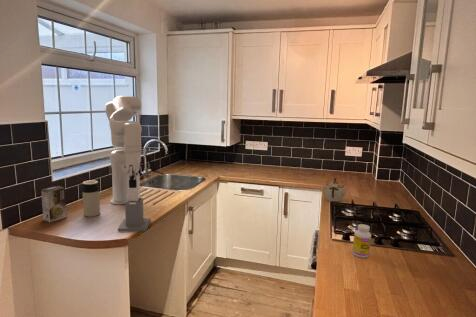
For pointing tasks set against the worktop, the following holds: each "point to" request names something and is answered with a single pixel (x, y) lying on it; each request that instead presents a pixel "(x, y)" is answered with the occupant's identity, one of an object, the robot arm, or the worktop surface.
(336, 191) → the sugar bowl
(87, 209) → the travel mug
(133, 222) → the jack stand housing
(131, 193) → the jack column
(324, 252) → the worktop surface
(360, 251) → the supplement bottle
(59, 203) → the coffee box
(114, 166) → the robot arm
